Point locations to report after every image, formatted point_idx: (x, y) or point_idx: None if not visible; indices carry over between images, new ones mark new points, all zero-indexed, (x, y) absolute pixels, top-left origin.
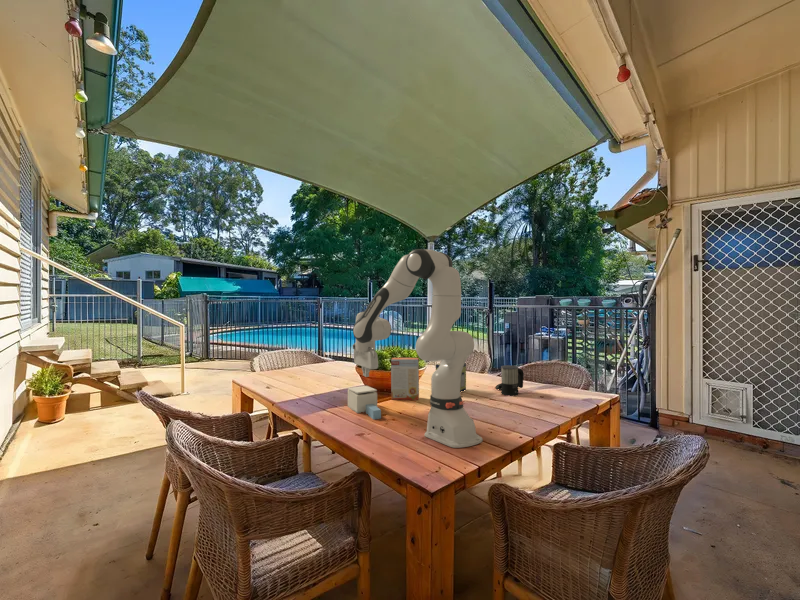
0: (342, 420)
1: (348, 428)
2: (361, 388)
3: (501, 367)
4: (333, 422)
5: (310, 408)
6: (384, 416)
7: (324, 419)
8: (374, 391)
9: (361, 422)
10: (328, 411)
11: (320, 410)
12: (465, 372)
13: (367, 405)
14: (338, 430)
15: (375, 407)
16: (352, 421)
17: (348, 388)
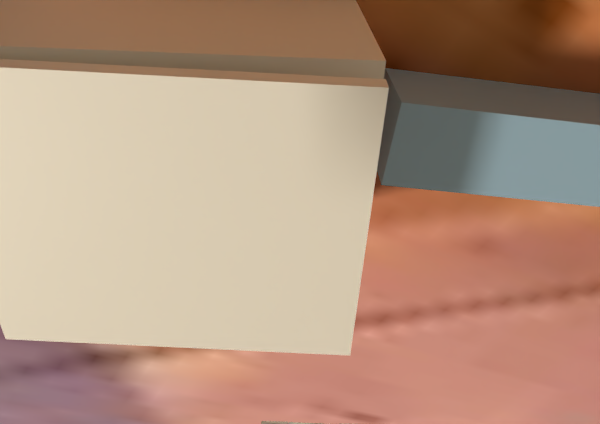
0: (420, 338)
1: (584, 354)
2: (129, 229)
3: None
4: (418, 384)
5: (39, 412)
6: (588, 33)
7: (328, 404)
8: (275, 58)
9: (556, 260)
10: (165, 350)
11: (116, 380)
12: None
13: (419, 182)
14: (566, 398)
15: (545, 143)
16: (488, 298)
17: (25, 337)
